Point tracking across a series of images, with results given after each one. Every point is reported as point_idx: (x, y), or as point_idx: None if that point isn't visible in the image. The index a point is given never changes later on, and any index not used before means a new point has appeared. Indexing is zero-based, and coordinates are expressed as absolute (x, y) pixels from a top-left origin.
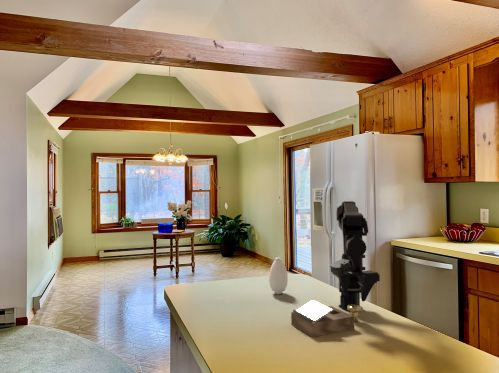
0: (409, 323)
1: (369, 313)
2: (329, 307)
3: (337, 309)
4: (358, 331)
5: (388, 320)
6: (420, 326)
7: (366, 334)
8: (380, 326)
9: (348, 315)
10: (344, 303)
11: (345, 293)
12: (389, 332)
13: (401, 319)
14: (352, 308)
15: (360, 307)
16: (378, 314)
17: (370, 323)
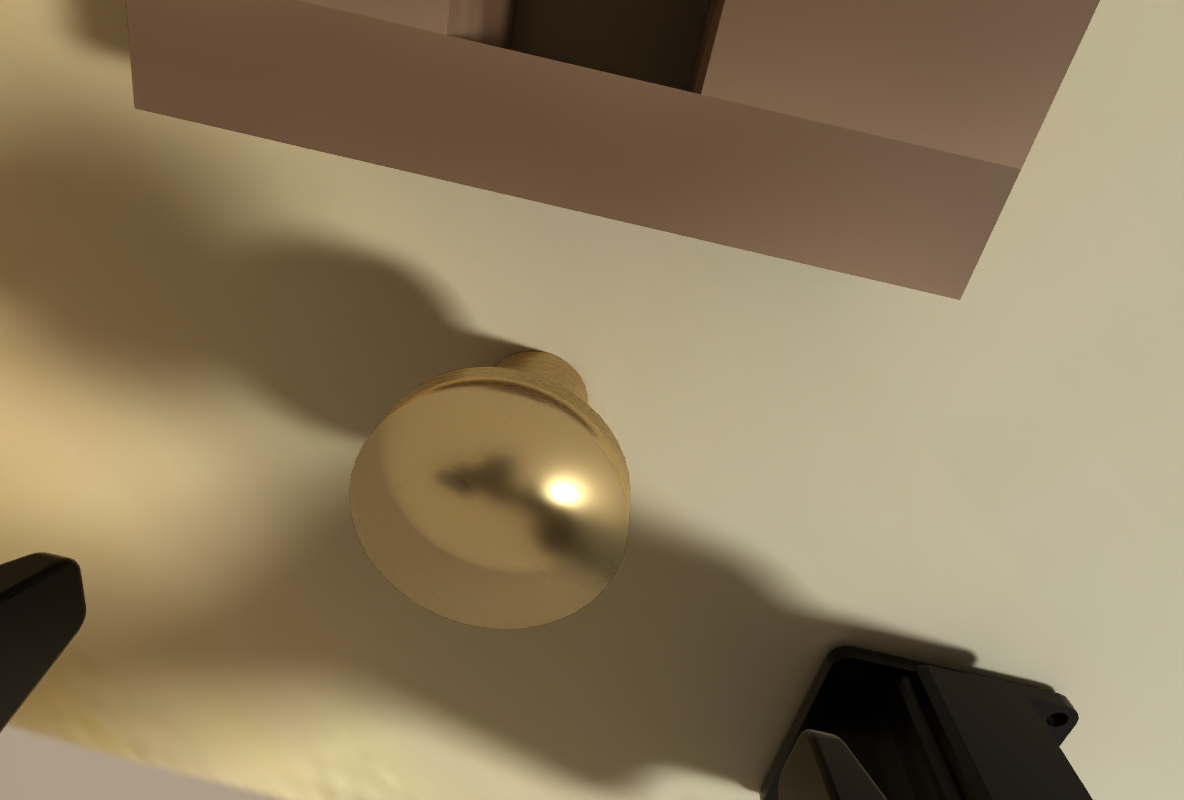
0: (171, 736)
1: (611, 730)
2: (933, 166)
3: (690, 198)
4: None
5: (331, 683)
6: (69, 733)
7: (31, 69)
8: (217, 476)
9: (229, 41)
10: (953, 722)
11: (798, 765)
12: (11, 388)
13: (292, 776)
14: (417, 399)
15: (383, 557)
16: (527, 760)
17: None
